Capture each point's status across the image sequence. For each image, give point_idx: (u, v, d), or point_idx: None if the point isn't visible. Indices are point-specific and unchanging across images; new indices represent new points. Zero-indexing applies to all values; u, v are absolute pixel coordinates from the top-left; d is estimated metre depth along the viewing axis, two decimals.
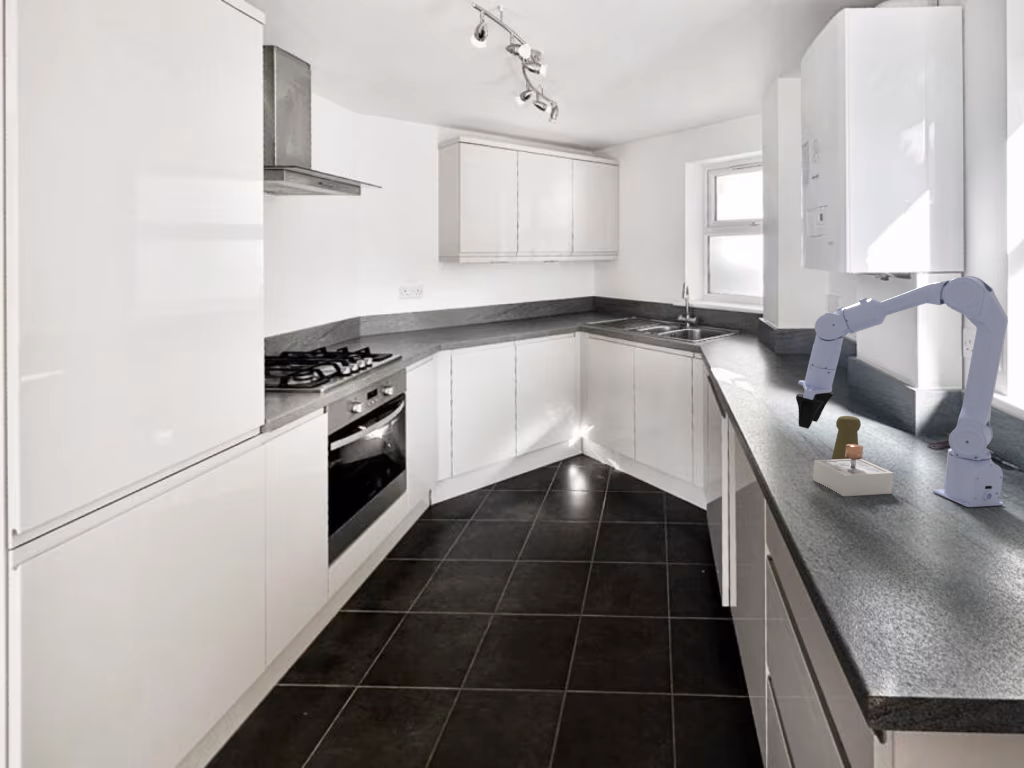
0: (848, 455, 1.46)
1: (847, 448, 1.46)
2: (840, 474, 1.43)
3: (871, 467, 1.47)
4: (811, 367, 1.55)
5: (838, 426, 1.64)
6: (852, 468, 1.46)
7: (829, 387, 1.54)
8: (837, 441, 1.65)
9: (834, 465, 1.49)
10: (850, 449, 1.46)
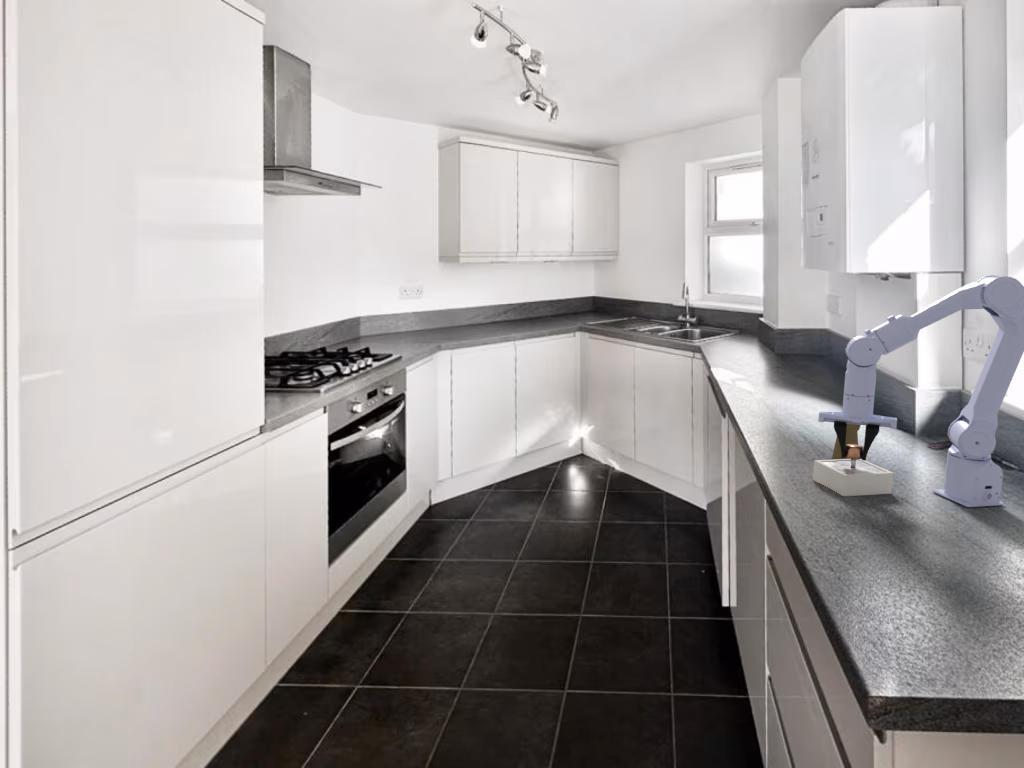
0: (848, 455, 1.46)
1: (847, 448, 1.46)
2: (840, 474, 1.43)
3: (871, 467, 1.47)
4: (870, 399, 1.42)
5: None
6: (852, 468, 1.46)
7: None
8: (837, 441, 1.65)
9: (834, 465, 1.49)
10: (850, 449, 1.46)
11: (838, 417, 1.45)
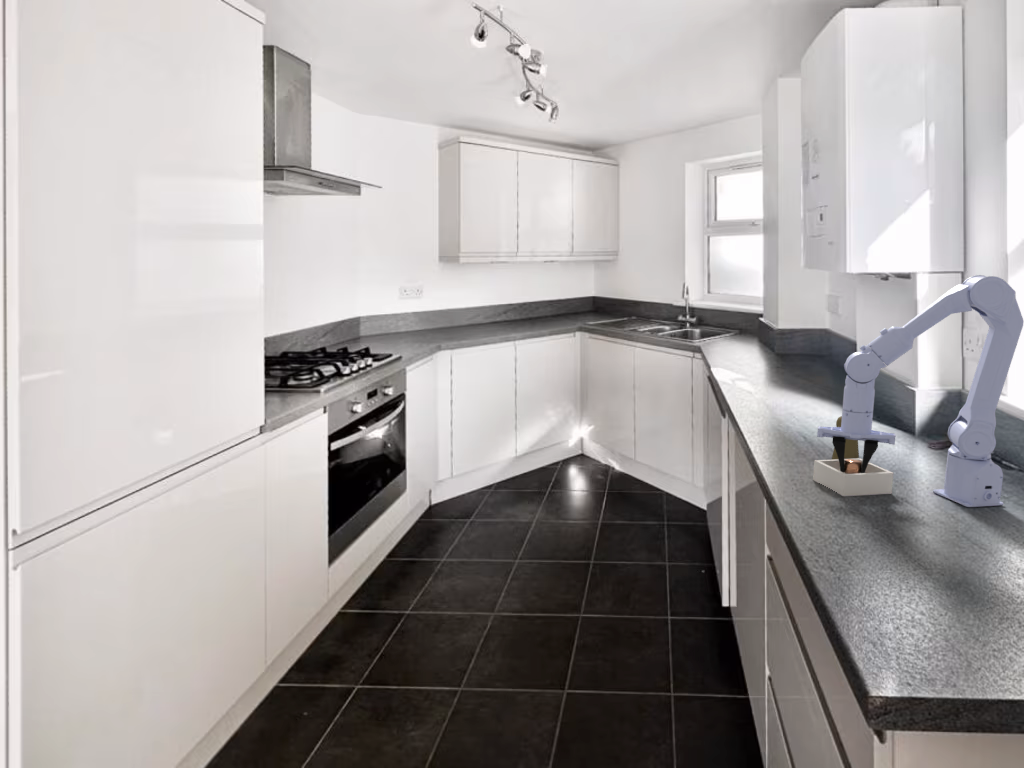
0: (847, 470, 1.47)
1: (846, 463, 1.47)
2: (840, 474, 1.43)
3: None
4: (868, 415, 1.43)
5: (838, 426, 1.64)
6: None
7: None
8: None
9: None
10: (849, 464, 1.46)
11: (837, 432, 1.46)
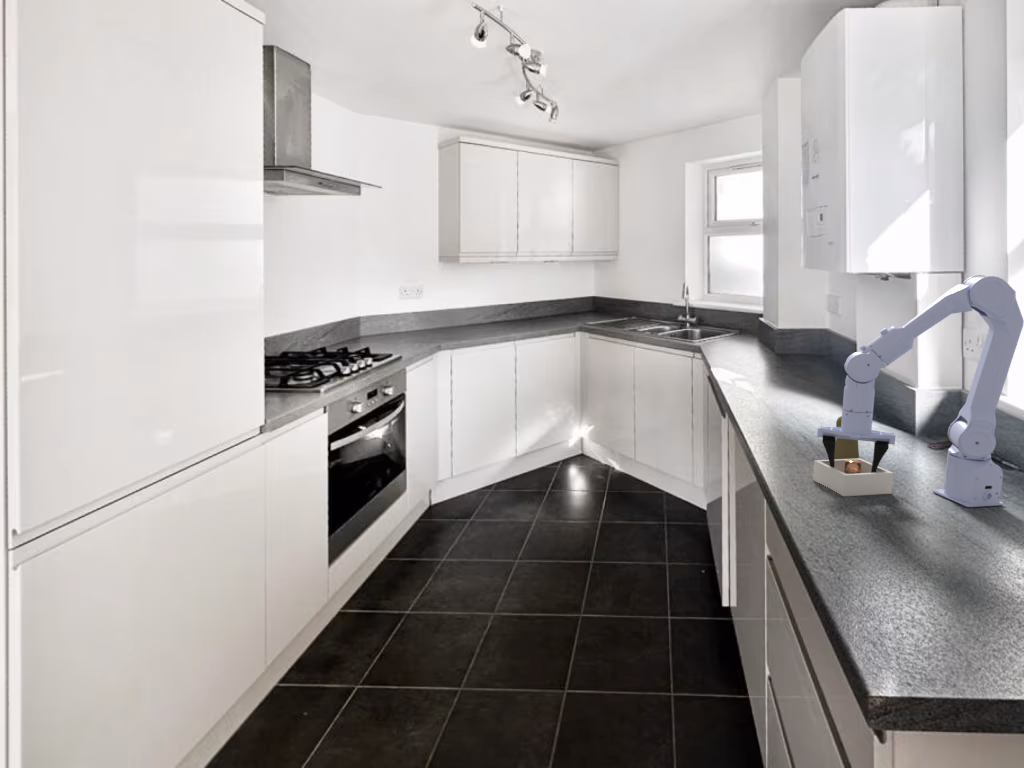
0: (847, 470, 1.47)
1: (846, 463, 1.47)
2: (840, 474, 1.43)
3: None
4: (868, 415, 1.43)
5: (838, 426, 1.64)
6: None
7: None
8: (837, 441, 1.65)
9: None
10: (849, 464, 1.46)
11: (837, 432, 1.46)
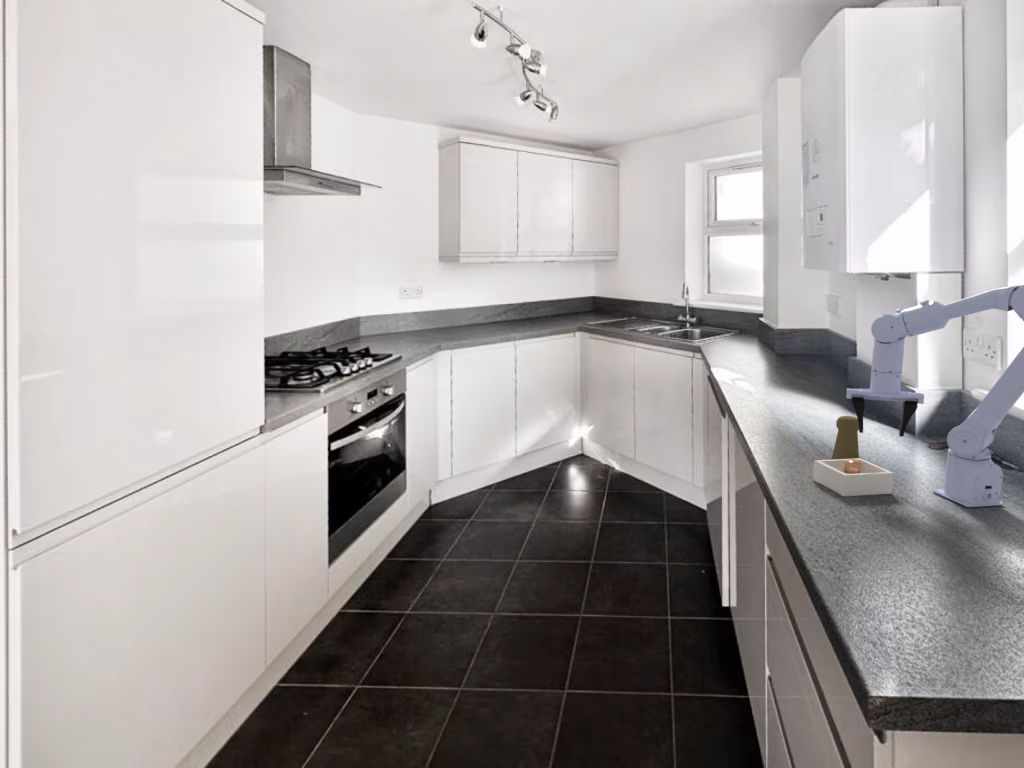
0: (847, 470, 1.47)
1: (846, 463, 1.47)
2: (840, 474, 1.43)
3: None
4: (898, 375, 1.46)
5: (838, 426, 1.64)
6: None
7: None
8: (837, 441, 1.65)
9: None
10: (849, 464, 1.46)
11: (866, 393, 1.49)
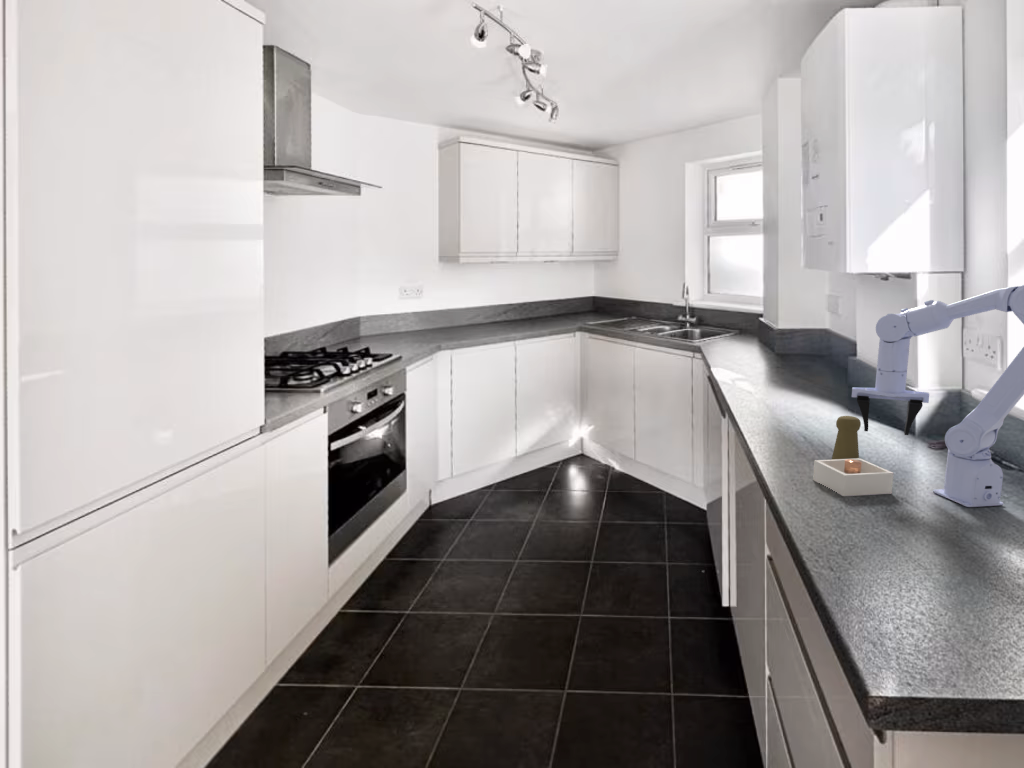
0: (847, 470, 1.47)
1: (846, 463, 1.47)
2: (840, 474, 1.43)
3: None
4: (903, 374, 1.47)
5: (838, 426, 1.64)
6: None
7: None
8: (837, 441, 1.65)
9: None
10: (849, 464, 1.46)
11: (871, 392, 1.50)
